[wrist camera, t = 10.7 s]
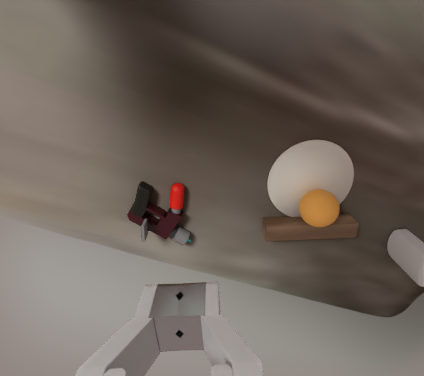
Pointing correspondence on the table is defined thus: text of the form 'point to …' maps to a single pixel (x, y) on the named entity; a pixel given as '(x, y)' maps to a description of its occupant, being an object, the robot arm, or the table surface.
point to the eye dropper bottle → (407, 253)
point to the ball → (319, 208)
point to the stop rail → (308, 228)
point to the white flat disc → (309, 174)
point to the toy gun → (159, 214)
